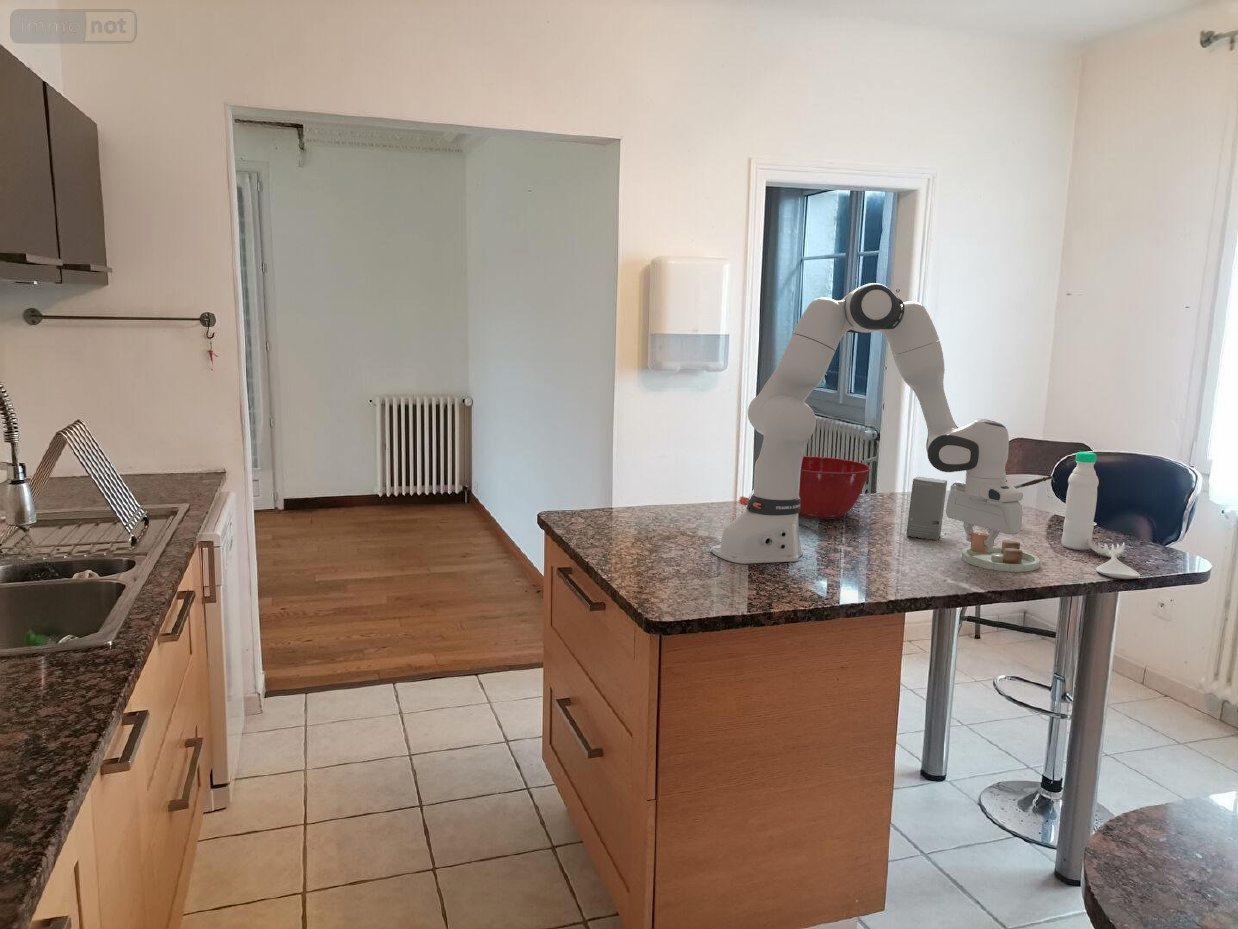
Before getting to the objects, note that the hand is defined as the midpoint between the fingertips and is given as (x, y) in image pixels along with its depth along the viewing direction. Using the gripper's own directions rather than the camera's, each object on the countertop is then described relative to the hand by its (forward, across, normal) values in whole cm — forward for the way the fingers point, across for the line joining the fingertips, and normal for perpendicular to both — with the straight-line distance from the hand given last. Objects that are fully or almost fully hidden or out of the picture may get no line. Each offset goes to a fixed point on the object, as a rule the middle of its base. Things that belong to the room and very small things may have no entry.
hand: (979, 544), depth 218 cm
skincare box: (+5, -26, +7) cm, 27 cm away
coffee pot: (+5, -28, +42) cm, 51 cm away
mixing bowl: (+5, -58, -4) cm, 58 cm away
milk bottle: (+5, -2, +37) cm, 38 cm away
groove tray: (+5, +4, +3) cm, 7 cm away
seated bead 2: (+4, +8, +2) cm, 9 cm away
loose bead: (+2, 0, 0) cm, 2 cm away
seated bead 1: (+4, +2, +8) cm, 9 cm away
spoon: (+5, +14, +28) cm, 32 cm away
